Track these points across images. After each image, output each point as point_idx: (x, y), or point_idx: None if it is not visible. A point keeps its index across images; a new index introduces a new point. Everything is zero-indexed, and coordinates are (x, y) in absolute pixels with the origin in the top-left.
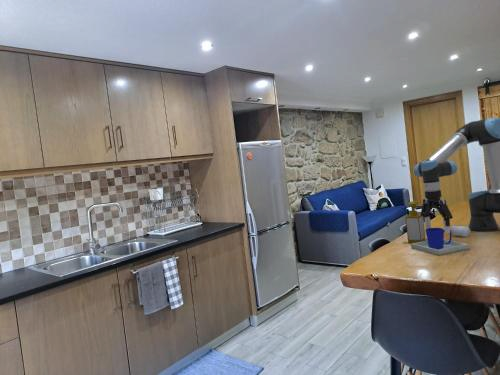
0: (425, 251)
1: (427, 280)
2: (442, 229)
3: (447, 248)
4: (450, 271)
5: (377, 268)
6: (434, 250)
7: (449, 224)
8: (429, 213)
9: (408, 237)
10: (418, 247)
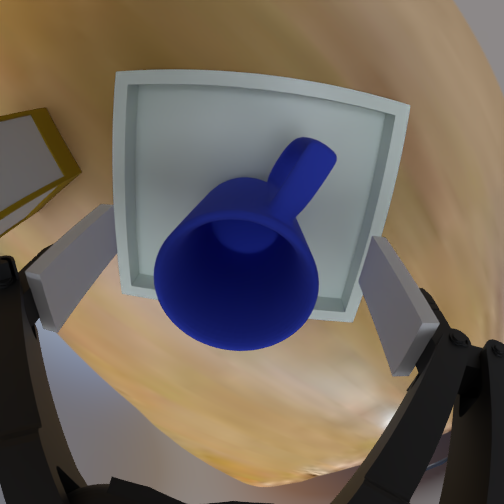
0: None
1: None
2: (313, 264)
3: None
4: None
5: (285, 460)
6: (328, 317)
7: (430, 305)
8: (22, 318)
9: (17, 222)
10: None
